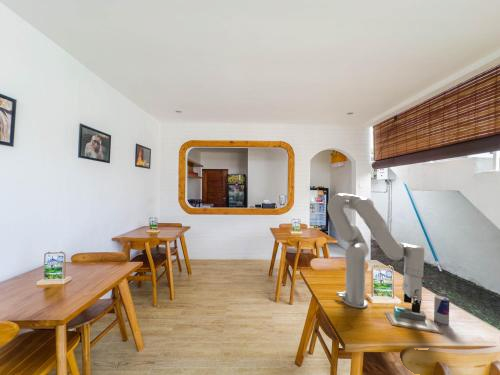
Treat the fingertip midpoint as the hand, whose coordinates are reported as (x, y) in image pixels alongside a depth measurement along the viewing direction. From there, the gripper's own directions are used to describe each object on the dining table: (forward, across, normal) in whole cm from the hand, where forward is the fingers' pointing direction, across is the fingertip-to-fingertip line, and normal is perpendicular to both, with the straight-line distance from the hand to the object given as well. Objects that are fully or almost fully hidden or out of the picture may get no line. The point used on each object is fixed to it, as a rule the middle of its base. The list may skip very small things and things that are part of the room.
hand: (411, 307), depth 111 cm
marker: (+3, 0, +5) cm, 6 cm away
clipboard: (+6, +3, 0) cm, 7 cm away
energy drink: (+6, -1, +12) cm, 14 cm away
